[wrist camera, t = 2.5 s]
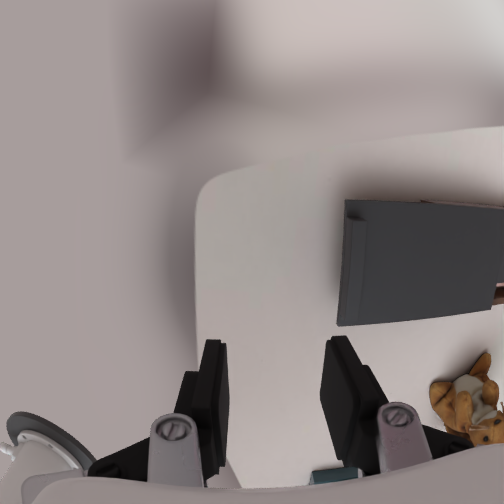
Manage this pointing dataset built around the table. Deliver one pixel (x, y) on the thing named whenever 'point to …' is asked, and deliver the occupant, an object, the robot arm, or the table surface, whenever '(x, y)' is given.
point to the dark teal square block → (333, 475)
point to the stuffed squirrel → (471, 405)
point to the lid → (417, 260)
